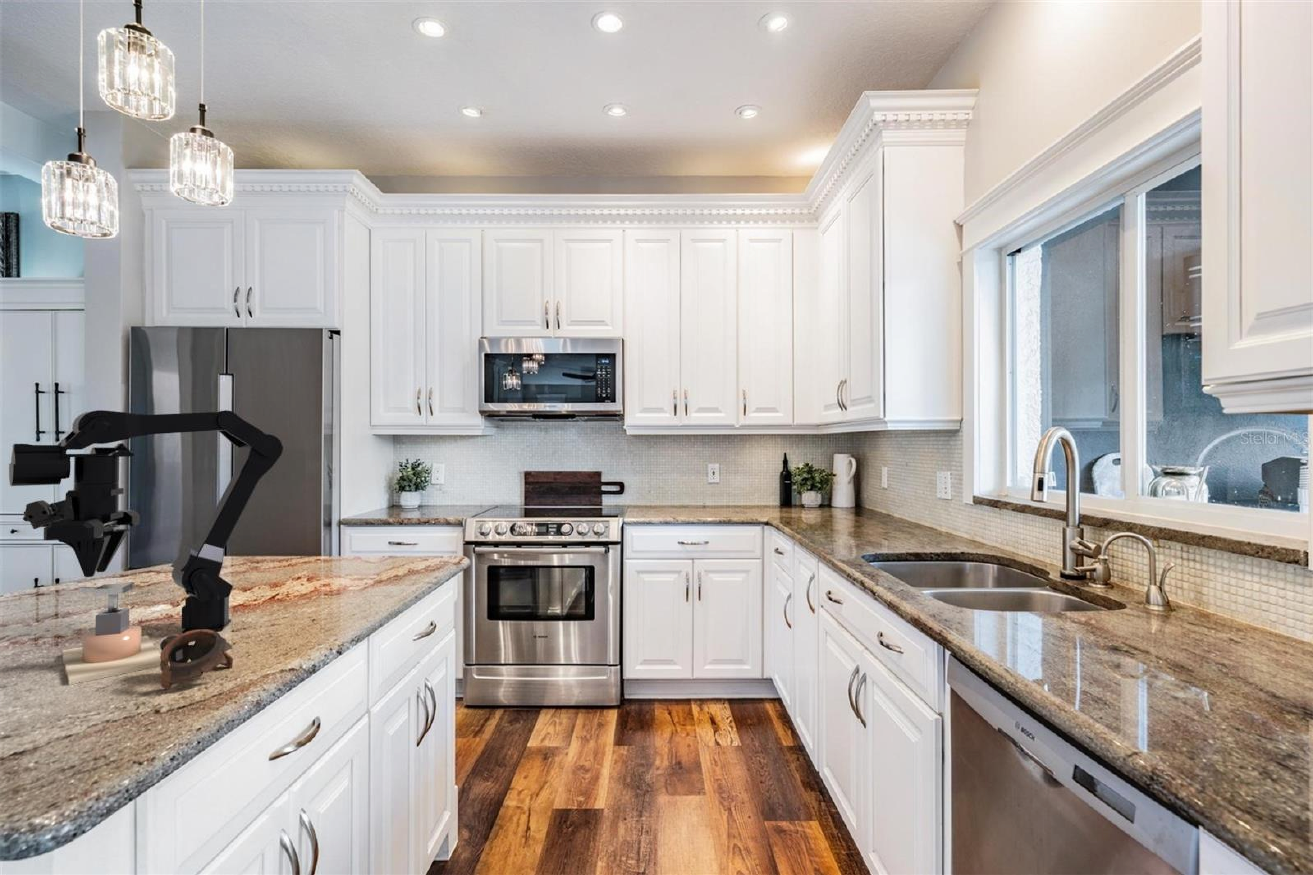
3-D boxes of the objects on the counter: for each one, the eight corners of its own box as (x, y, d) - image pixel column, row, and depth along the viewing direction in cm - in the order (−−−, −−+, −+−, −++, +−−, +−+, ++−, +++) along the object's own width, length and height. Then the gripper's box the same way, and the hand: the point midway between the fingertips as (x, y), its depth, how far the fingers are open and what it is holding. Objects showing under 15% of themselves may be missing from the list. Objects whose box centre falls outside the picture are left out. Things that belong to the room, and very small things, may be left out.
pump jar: (148, 645, 104) (149, 604, 104) (130, 659, 97) (130, 615, 97) (94, 651, 101) (95, 608, 101) (72, 665, 94) (73, 620, 94)
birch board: (61, 655, 101) (61, 650, 101) (147, 640, 109) (147, 635, 109) (69, 684, 89) (69, 679, 89) (164, 665, 97) (164, 660, 97)
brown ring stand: (253, 670, 97) (243, 633, 93) (197, 719, 88) (184, 681, 84) (192, 645, 99) (180, 609, 95) (133, 691, 91) (117, 653, 87)
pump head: (132, 607, 102) (132, 582, 102) (122, 613, 98) (122, 587, 98) (85, 611, 99) (85, 585, 99) (73, 617, 96) (73, 590, 96)
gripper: (65, 481, 110) (63, 567, 110) (-1, 488, 92) (-2, 590, 92) (141, 480, 114) (140, 563, 114) (92, 486, 97) (91, 584, 96)
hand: (95, 574), depth 104 cm, fingers open, 4 cm apart
